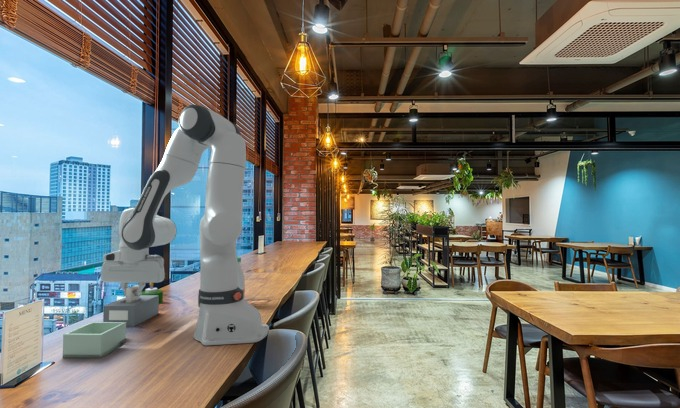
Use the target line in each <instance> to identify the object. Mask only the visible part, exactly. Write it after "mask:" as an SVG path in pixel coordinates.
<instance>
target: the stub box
mask: <svg viewBox="0 0 680 408" xmlns="http://www.w3.org/2000/svg"><path fill="white" fill-rule="evenodd" d="M126 338H127V326H126V322H103V321H92V322H91V321H90V322H89V323H87V324H84V325H82V326H79V327H77V328H75V329H72V330H71V331H67V332H66V333H64V334H62V358H66V359H67V358H69V359H71V358H72V359H102V358H103V357H105V356H107V355H108V354H110V353H112V352H113V351H115V350H117V349H118V348H120V347H122V346H124V345H126V341H124V340H125V339H126Z"/></svg>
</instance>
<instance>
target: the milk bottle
mask: <svg viewBox="0 0 680 408" xmlns="http://www.w3.org/2000/svg"><path fill="white" fill-rule="evenodd" d="M237 261H238V287H239V288H240V289H241V290H243V289H246V288H245V274H244V272H243V270H242V266H241V263H242V257H240V256H237ZM245 293H246V291H244V297H243V299H244V300H246V299H245V297H246V296H245Z"/></svg>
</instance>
